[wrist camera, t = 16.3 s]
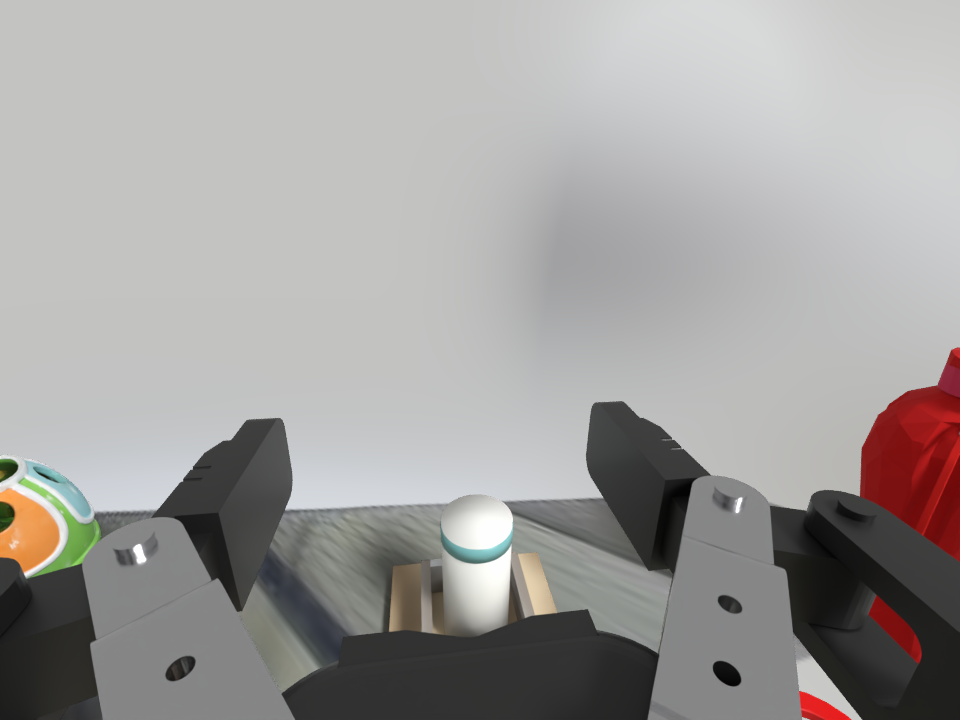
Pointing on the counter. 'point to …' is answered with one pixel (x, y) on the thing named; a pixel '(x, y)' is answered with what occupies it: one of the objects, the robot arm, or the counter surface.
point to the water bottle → (917, 475)
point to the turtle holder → (43, 517)
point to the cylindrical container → (476, 565)
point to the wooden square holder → (423, 594)
